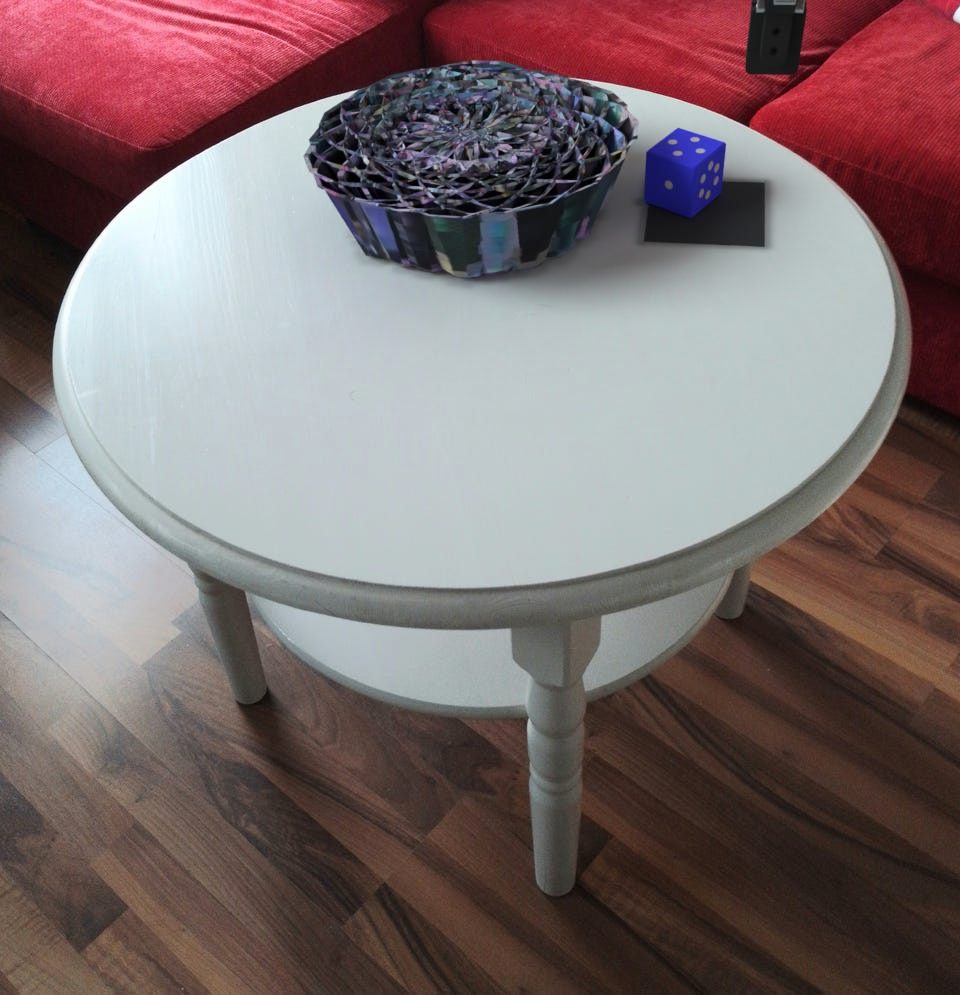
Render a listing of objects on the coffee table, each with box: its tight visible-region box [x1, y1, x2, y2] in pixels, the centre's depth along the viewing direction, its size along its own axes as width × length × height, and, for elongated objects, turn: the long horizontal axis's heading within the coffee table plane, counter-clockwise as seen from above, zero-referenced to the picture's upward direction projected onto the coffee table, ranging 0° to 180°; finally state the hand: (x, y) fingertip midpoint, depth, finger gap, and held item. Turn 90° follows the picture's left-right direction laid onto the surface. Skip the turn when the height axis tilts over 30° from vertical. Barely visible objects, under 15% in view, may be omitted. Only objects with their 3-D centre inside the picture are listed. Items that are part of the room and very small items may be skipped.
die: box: [643, 127, 727, 218], centre depth 96 cm, size 5×5×5 cm
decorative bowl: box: [303, 60, 640, 278], centre depth 95 cm, size 26×28×10 cm
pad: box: [643, 180, 766, 248], centre depth 96 cm, size 10×10×1 cm
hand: (770, 68), depth 69 cm, fingers closed
